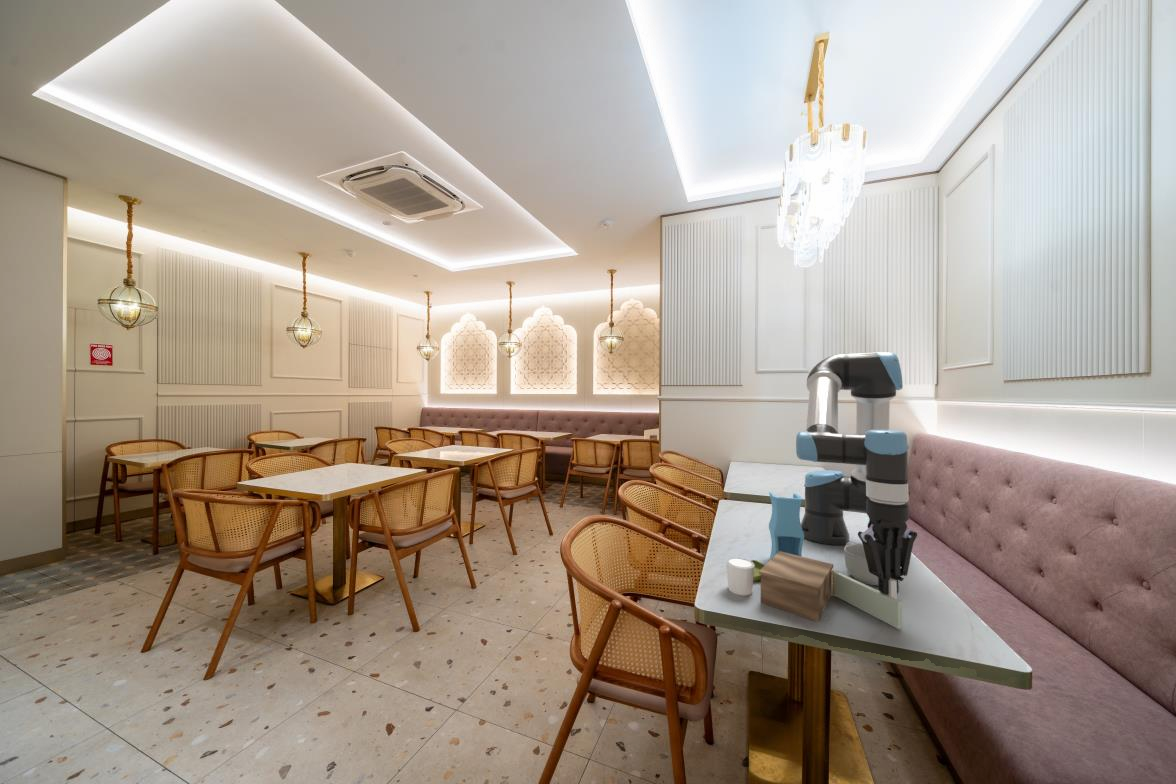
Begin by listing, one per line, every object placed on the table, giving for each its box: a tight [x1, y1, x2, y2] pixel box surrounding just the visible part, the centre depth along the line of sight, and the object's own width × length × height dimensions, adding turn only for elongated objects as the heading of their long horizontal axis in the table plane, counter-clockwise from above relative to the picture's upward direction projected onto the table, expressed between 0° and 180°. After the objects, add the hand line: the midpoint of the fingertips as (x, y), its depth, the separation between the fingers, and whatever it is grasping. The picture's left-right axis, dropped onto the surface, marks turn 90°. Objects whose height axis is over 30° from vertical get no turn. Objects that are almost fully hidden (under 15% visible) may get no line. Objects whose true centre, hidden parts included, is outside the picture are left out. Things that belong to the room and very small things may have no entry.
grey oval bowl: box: [843, 541, 879, 586], centre depth 108 cm, size 14×11×8 cm
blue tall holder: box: [768, 491, 805, 560], centre depth 117 cm, size 8×8×20 cm
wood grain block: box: [759, 551, 834, 622], centre depth 96 cm, size 17×13×8 cm
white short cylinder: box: [725, 557, 755, 597], centre depth 100 cm, size 7×7×7 cm
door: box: [832, 570, 903, 630], centre depth 90 cm, size 16×1×6 cm, turn 18°
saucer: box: [750, 559, 766, 582], centre depth 110 cm, size 9×9×2 cm
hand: (888, 607), depth 87 cm, fingers closed
